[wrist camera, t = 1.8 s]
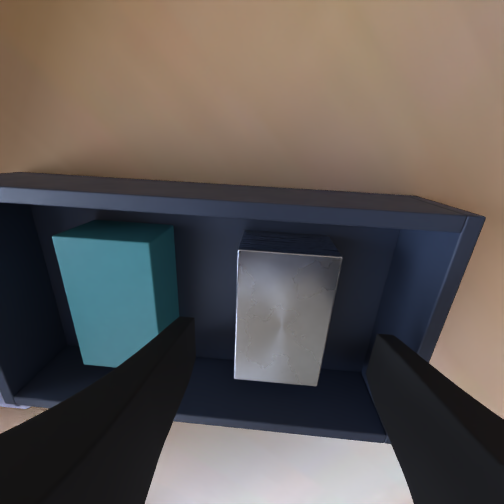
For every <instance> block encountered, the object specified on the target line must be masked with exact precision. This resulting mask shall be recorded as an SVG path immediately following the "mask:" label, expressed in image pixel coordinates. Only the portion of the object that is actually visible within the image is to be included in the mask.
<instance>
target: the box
mask: <svg viewBox="0 0 504 504" xmlns="http://www.w3.org/2000/svg"><path fill="white" fill-rule="evenodd" d="M485 219H486V217H484V216H481V215H478V214H475V213H471V212H468V211H465V210H461V209H458V208H455V207H451V206H448V205H445V204H441V203H438V202H435V201H431V200H428V199H425V198H421V197H418V196H411V195H395V194H378V193H361V192H345V191H328V190H311V189H294V188H278V187H261V186H244V185H228V184H211V183H194V182H178V181H161V180H144V179H127V178H111V177H94V176H77V175H61V174H44V173H27V172H13V173H1V174H0V392H1V395H2V397H3V399H4V402H5V403H6V404H13V405H16V404H17V405H24V406H33V407H43V408H52V407H53V406H55V405H57V404H59V403H60V402H62V401H64V400H66V399H67V398H69V397H71V396H73V395H74V394H76V393H78V392H80V391H81V390H83V389H85V388H86V387H88V386H89V385H91V384H92V383H94V382H95V381H97V380H99V379H100V378H102V377H103V376H105V375H106V374H108V373H109V372H111V371H112V370H113V369H115V368H116V367H105V366H95V365H85V364H84V363H83V359H82V355H81V351H80V347H79V343H78V339H77V335H76V331H75V327H74V323H73V319H72V316H71V312H70V308H69V304H68V300H67V296H66V292H65V288H64V284H63V280H62V276H61V272H60V268H59V264H58V260H57V256H56V252H55V248H54V244H53V240H52V236H53V235H56V234H59V233H61V232H64V231H66V230H69V229H72V228H74V227H77V226H80V225H82V224H85V223H87V222H90V221H93V220H105V221H120V222H135V223H150V224H164V225H173V227H174V243H175V258H176V273H177V288H178V304H179V316H182V317H194V320H195V345H196V359H195V363H194V366H193V370H192V374H191V377H190V381H189V383H188V386H187V389H186V391H185V393H184V396H183V398H182V401H181V403H180V406H179V408H178V411H177V413H176V416H175V418H174V420H173V421H176V422H186V423H196V424H205V425H215V426H224V427H234V428H243V429H253V430H262V431H272V432H282V433H291V434H301V435H310V436H320V437H329V438H339V439H348V440H358V441H367V442H377V443H387V444H391V442H390V440H389V437H388V435H387V433H386V430H385V428H384V426H383V423H382V421H381V418H380V416H379V413H378V411H377V409H376V406H375V404H374V401H373V398H372V395H371V391H370V388H369V384H368V380H367V377H366V370H367V367H368V363H369V360H370V356H371V353H372V349H373V346H374V342H375V338H376V335H377V333H378V334H390V335H394V336H395V337H397V338H398V339H399V340H401V341H402V342H403V343H405V344H406V345H407V346H408V347H410V348H411V349H412V350H413V351H414V352H416V353H417V354H418V355H419V356H421V357H422V358H423V359H424V360H425V361H427V362H428V363H429V361H430V358H431V356H432V353H433V351H434V348H435V346H436V343H437V341H438V338H439V336H440V333H441V331H442V328H443V326H444V323H445V320H446V318H447V315H448V313H449V310H450V308H451V305H452V303H453V300H454V298H455V295H456V293H457V290H458V288H459V285H460V283H461V280H462V277H463V275H464V272H465V270H466V267H467V265H468V262H469V260H470V257H471V255H472V252H473V250H474V247H475V245H476V242H477V240H478V237H479V234H480V232H481V229H482V227H483V224H484V222H485ZM244 230H252V231H267V232H282V233H297V234H311V235H326V236H329V238H330V239H331V241H332V242H333V243H334V245H335V246H336V248H337V249H338V251H339V252H340V254H341V255H342V257H343V259H342V264H341V269H340V275H339V280H338V285H337V290H336V295H335V300H334V305H333V310H332V315H331V320H330V326H329V331H328V336H327V341H326V346H325V351H324V356H323V361H322V366H321V372H320V377H319V382H318V386H317V387H314V386H304V385H293V384H283V383H272V382H262V381H251V380H241V379H234V349H235V316H236V284H237V252H238V247H239V245H240V242H241V239H242V236H243V233H244Z"/></svg>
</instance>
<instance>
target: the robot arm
mask: <svg viewBox="0 0 504 504" xmlns="http://www.w3.org/2000/svg"><path fill="white" fill-rule="evenodd" d="M195 359H196V345H195V320H194V317H182V316H179V317H178V318H177V319H176V320H174V321H173V322H172V323H171V324H170V325H169V326H167V327H166V328H165V329H164V330H163V331H162V332H160V333H159V334H158V335H157V336H156V337H155V338H153V339H152V340H151V341H150V342H149V343H147V344H146V345H145V346H144V347H142V348H141V349H140V350H139V351H137V352H136V353H135V354H134V355H132V356H131V357H130V358H128V359H127V360H126V361H124V362H123V363H122V364H120V365H119V366H118V367H116V368H115V369H113V370H112V371H111V372H109V373H108V374H106V375H105V376H103V377H102V378H100V379H99V380H97V381H95V382H94V383H92V384H91V385H89V386H88V387H86V388H85V389H83V390H81V391H80V392H78V393H76V394H74V395H73V396H71V397H69V398H67V399H66V400H64V401H62V402H60V403H59V404H57V405H55V406H53V407H52V408H50V409H48V410H46V411H45V412H43V413H41V414H39V415H37V416H35V417H33V418H31V419H29V420H27V421H25V422H24V423H22V424H20V425H18V426H16V427H14V428H12V429H10V430H7V431H5V432H3V433H1V434H0V504H145V501H146V497H147V494H148V491H149V488H150V484H151V481H152V478H153V475H154V472H155V469H156V465H157V462H158V459H159V456H160V453H161V451H162V448H163V445H164V442H165V440H166V438H167V435H168V433H169V430H170V428H171V425H172V423H173V420H174V418H175V416H176V413H177V411H178V408H179V406H180V403H181V401H182V398H183V396H184V393H185V391H186V389H187V386H188V383H189V381H190V377H191V374H192V370H193V366H194V363H195ZM366 377H367V380H368V384H369V388H370V391H371V395H372V398H373V401H374V404H375V406H376V409H377V411H378V413H379V416H380V418H381V421H382V423H383V426H384V428H385V430H386V433H387V435H388V437H389V440H390V442H391V445H392V447H393V449H394V452H395V454H396V456H397V459H398V461H399V464H400V466H401V468H402V471H403V474H404V476H405V479H406V481H407V484H408V487H409V490H410V493H411V496H412V499H413V502H414V504H504V419H502V418H501V417H499V416H498V415H496V414H495V413H493V412H492V411H491V410H489V409H488V408H486V407H485V406H484V405H482V404H481V403H480V402H478V401H477V400H476V399H474V398H473V397H471V396H470V395H469V394H467V393H466V392H465V391H463V390H462V389H461V388H459V387H458V386H457V385H456V384H454V383H453V382H452V381H450V380H449V379H448V378H447V377H445V376H444V375H443V374H442V373H440V372H439V371H438V370H437V369H435V368H434V367H433V366H432V365H430V364H429V363H428V362H427V361H425V360H424V359H423V358H422V357H421V356H419V355H418V354H417V353H416V352H414V351H413V350H412V349H411V348H410V347H408V346H407V345H406V344H405V343H403V342H402V341H401V340H399V339H398V338H397V337H395V336H394V335H390V334H378V333H377V335H376V338H375V342H374V346H373V349H372V353H371V356H370V360H369V363H368V367H367V370H366ZM0 406H2V407H11V408H21V409H28V408H30V407H31V406H24V405H17V404H16V405H13V404H6V403H5V402H4V399H3V397H2V395H1V392H0Z"/></svg>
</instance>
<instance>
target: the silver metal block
mask: <svg viewBox="0 0 504 504" xmlns="http://www.w3.org/2000/svg"><path fill="white" fill-rule="evenodd" d="M342 259H343V257H342V255H341V254H340V252H339V251H338V249H337V248H336V246H335V245H334V243H333V242H332V241H331V239H330V238H329V236H326V235H311V234H297V233H282V232H267V231H252V230H244V233H243V236H242V239H241V242H240V245H239V247H238V252H237V284H236V316H235V349H234V379H241V380H251V381H262V382H272V383H283V384H293V385H304V386H314V387H317V386H318V382H319V377H320V372H321V366H322V361H323V356H324V351H325V346H326V341H327V336H328V331H329V326H330V320H331V315H332V310H333V305H334V300H335V295H336V290H337V285H338V280H339V275H340V269H341V264H342Z"/></svg>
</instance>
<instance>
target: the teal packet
mask: <svg viewBox="0 0 504 504" xmlns="http://www.w3.org/2000/svg"><path fill="white" fill-rule="evenodd" d="M52 240H53V244H54V248H55V252H56V256H57V260H58V264H59V268H60V272H61V276H62V280H63V284H64V288H65V292H66V296H67V300H68V304H69V308H70V312H71V316H72V319H73V323H74V327H75V331H76V335H77V339H78V343H79V347H80V351H81V355H82V359H83V363H84V364H85V365H95V366H105V367H118V366H119V365H120V364H122V363H123V362H124V361H126V360H127V359H128V358H130V357H131V356H132V355H134V354H135V353H136V352H137V351H139V350H140V349H141V348H142V347H144V346H145V345H146V344H147V343H149V342H150V341H151V340H152V339H153V338H155V337H156V336H157V335H158V334H159V333H160V332H162V331H163V330H164V329H165V328H166V327H167V326H169V325H170V324H171V323H172V322H173V321H174V320H176V319H177V318H178V317H179V304H178V288H177V273H176V258H175V243H174V227H173V225H164V224H150V223H135V222H120V221H105V220H93V221H90V222H87V223H85V224H82V225H80V226H77V227H74V228H72V229H69V230H66V231H64V232H61V233H59V234H56V235H53V236H52Z"/></svg>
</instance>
